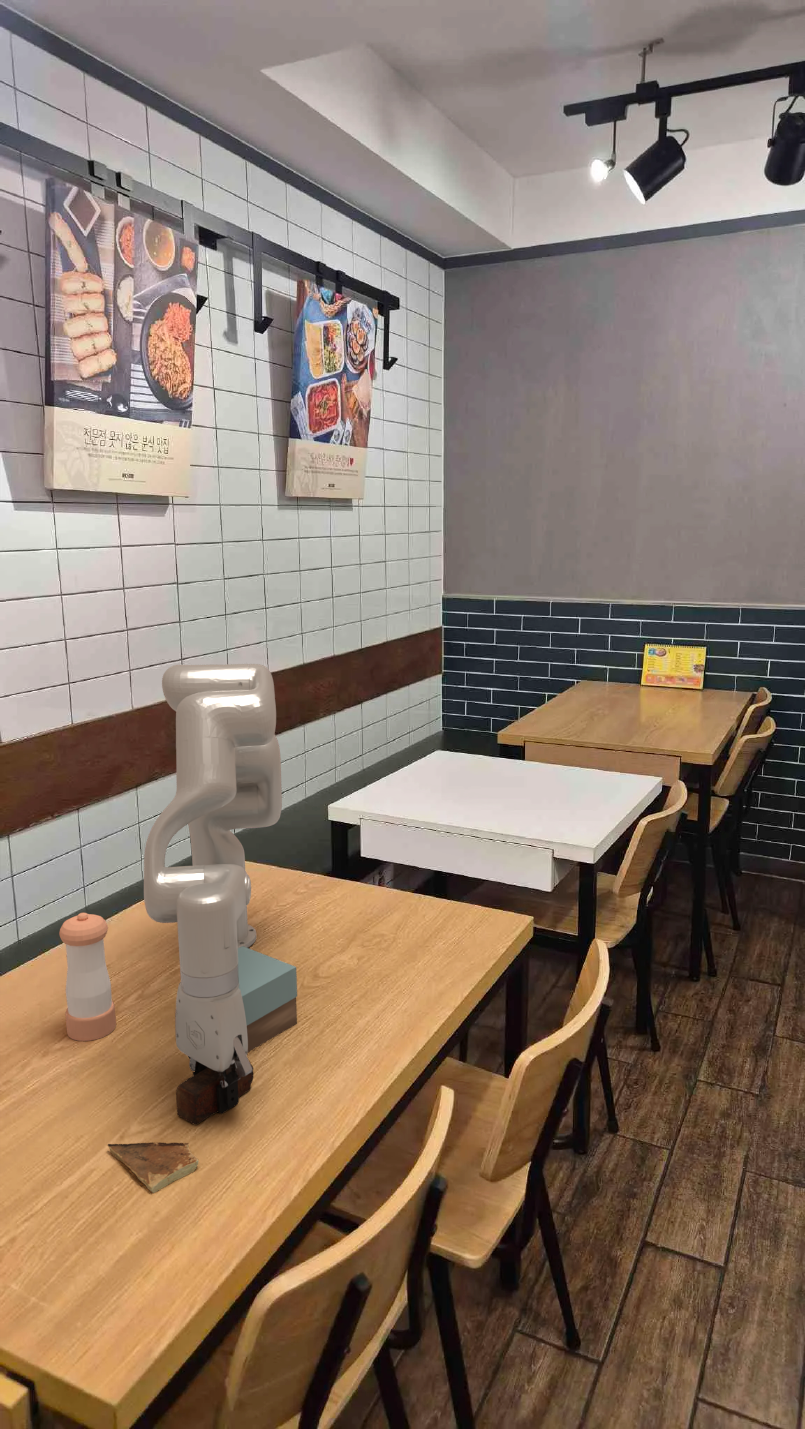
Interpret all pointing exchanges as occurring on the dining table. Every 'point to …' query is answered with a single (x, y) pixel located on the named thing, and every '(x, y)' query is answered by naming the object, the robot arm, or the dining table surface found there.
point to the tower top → (264, 983)
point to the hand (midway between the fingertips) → (216, 1099)
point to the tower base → (272, 1024)
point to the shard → (156, 1161)
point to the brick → (204, 1094)
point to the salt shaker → (87, 979)
